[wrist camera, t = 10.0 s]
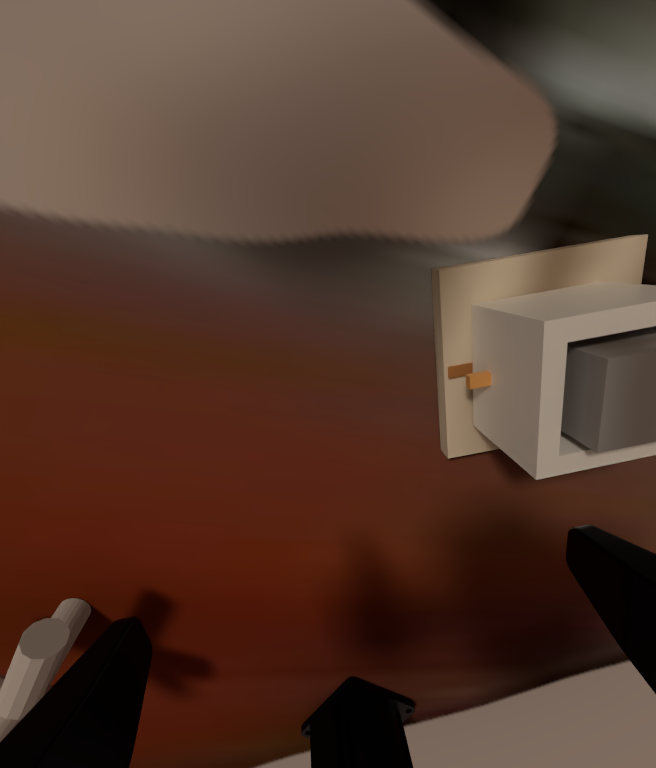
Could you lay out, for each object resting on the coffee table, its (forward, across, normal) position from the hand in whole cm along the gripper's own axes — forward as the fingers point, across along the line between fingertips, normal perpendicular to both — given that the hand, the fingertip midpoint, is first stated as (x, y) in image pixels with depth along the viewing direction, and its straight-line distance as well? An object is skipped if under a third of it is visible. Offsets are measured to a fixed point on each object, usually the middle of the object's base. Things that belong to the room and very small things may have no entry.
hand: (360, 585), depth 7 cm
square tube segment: (+11, -11, 0) cm, 15 cm away
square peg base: (+12, -11, 0) cm, 16 cm away
